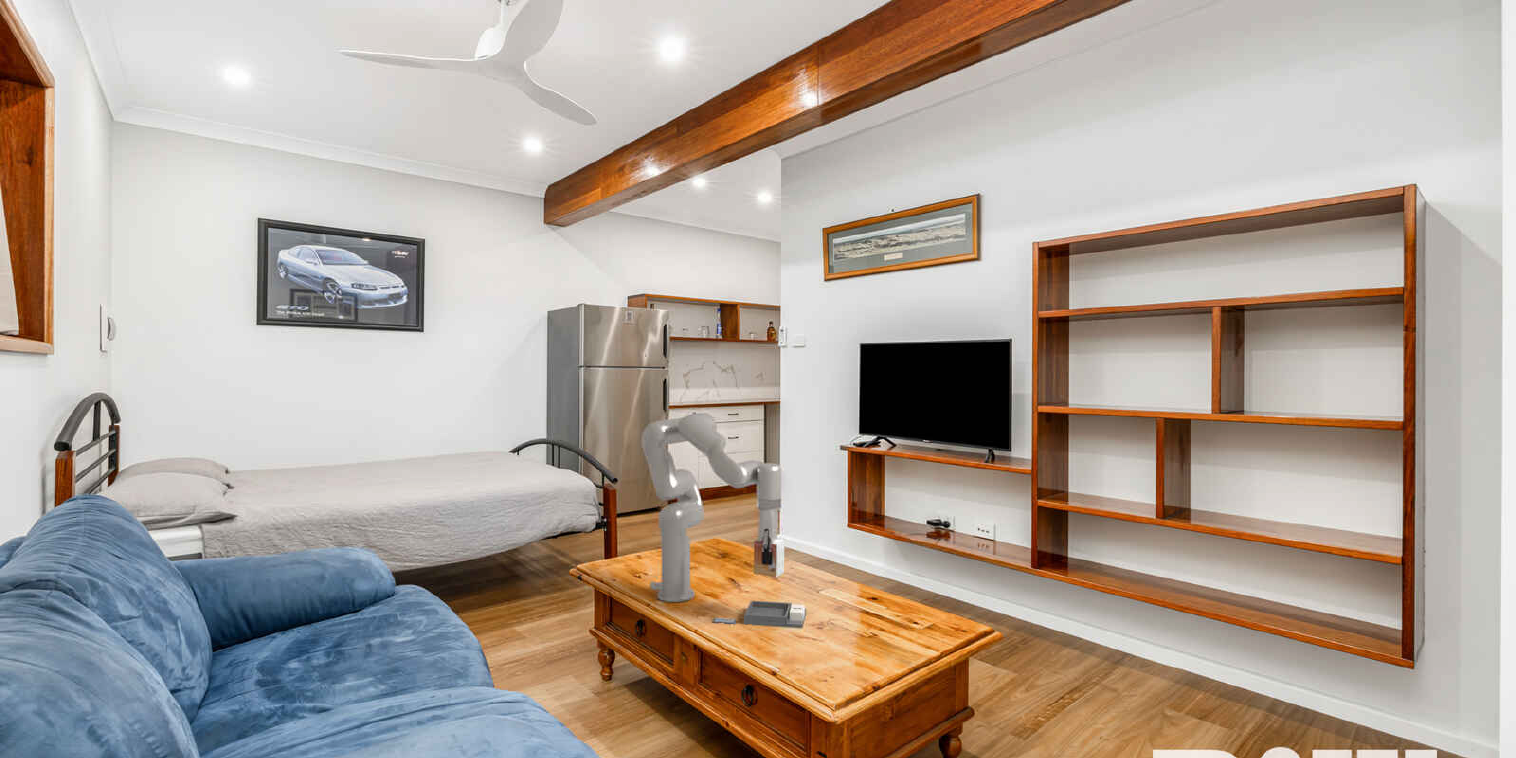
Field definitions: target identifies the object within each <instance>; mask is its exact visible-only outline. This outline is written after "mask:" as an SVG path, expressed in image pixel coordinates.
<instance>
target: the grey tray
mask: <svg viewBox="0 0 1516 758" xmlns="http://www.w3.org/2000/svg"><path fill="white" fill-rule="evenodd" d="M806 615H807V608H806V604H796V603H795V604H794V603H792V602H780V601H763V600H750V603H749V604H748V606H747V608H746V610H745V612H744V615H743V616H744V617H743V620H742V621H743V622H742V623H743V625H747V624H752V626H762V625H763V626H764V627H777V628H780V627H781V628H791V629H793V628H794V629H795V628H796V629H803V628H804V625H805V624H804V623H805V619H806Z"/></svg>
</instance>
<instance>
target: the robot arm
mask: <svg viewBox="0 0 1516 758" xmlns="http://www.w3.org/2000/svg"><path fill="white" fill-rule="evenodd" d="M717 428H718V426H717V421H716V420H715V418H714V417H713V416H712V415H711V414H709V413H708V412H707V413H706V412H701V413H693V414H687V415H685V416H684V417H677V418H669V419H662V420H656V421H653V422H652V423H649V424H648V425H647V426H646V427H645V428H644V430H643V432H642V435H641V448H642V451H643V455H644V456H645V460H646V461H647V464H648V468H649V472H650V475H651V480H652V484H653V487H654V491H655V493H656V496H657V498H659V499H660V500H661V501H672V500H675V499H677V501H676V502H673V503H670V504H668V505H666V506H664V507H663V508H662V509H661V510H660V512H659V515H658V525H659V531H660V537H661V538H660V539H661V581H659V582H656V581H651V582H650V584H649V587H650V589H651V590H652V591H656V590H657V591H658V592H657V593H656V597H657V598H658V599H659V600H660V601H662V602H667V603H682V602H686V601H690V600H692V599H694V597H695V595H696V594H695V590H694V589H692V588H691V543H690V539H689V535H688V534H687V529H689V528H693V527H695V526H697V525H699V524H701V523H702V521H703V519H704V516H705V509H704V504H703V501H702V497H701V494H700V490H699V485H698V483H697V480H696V478H695V476H694V474H693V473H692V472H691V471H690V470H688V469H685V468H679V469H676V466H675V461H674V459H673V456H672V454H671V453H670V452H669V450H668V449H667V447H666V446H667V445H671V444H679V443H684V442H688V443H690V444H691V445H692V446H693V447H695V449H697V450H698V451H700V452H701V453H702V454H703V455H704V456H705V457H706V458H707V460H708V463H709V465H710V468H711V470H712V471H713V473H714V474H715V475H716V476H717V477H718V478H719V479H720V480H722V481H723V482H725V484H726V485H728V486H730V487H732V488H734V489H741V488H745V487H750V486H753V485H756V509H757V510H759V511H758V512H759V514H758V529H757V530H758V531H757V532H758V533H757V539H758V541H759V542H761V541H762V540H763V544H762V564H763V565H772V551H771V549H772V543H773V542H774V540H775V539H776V538H777V536H778V528H779V527H778V526H779V525H778V522H779V521H778V519H779V517H778V515H779V514H778V513H779V510H781V509H782V468H781V465H780V464H777V463H774V462H773V463H772V462H771V463H766V462H761V461H758V460H747V461H742V462H738V463H737V462H736V461H734V460H733V459H732V458H731V457H730V456H728V455H727V453H725V450H724V449H725V448H726V444H727V440H726V437H725V436H724V435H723V434H721V433H720V432H719V431H717ZM768 540H770V541H768ZM768 544H770V546H769V545H768Z"/></svg>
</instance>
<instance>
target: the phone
mask: <svg viewBox="0 0 1516 758" xmlns="http://www.w3.org/2000/svg"><path fill="white" fill-rule="evenodd" d="M736 621H737V622H738V619H734V618H732V619H731V618H722V617H715V618H714V619H712V623H713V624H719V623H724V624H723V625H731V624H733V626H734V625H736V623H737V622H736ZM712 623H711V624H712Z"/></svg>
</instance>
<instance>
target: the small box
mask: <svg viewBox="0 0 1516 758" xmlns="http://www.w3.org/2000/svg"><path fill="white" fill-rule="evenodd" d="M768 541H770V540H768ZM753 544H754V545H753V546H754V547H753V548H754V549H753V552H754V553H753V574H754V575H760V576H765V577H769V578H775V579H777V578H779V577H780V576H782V575H783V574H784V573H785V540H784V539H775V540H774V542H773V543H772V549H771V551H772V565H763V564H762V544H763V540H762V541H761V542H759V541H758V538H757V539H756V540H754V543H753ZM768 545H769V546H770V544H768Z"/></svg>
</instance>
